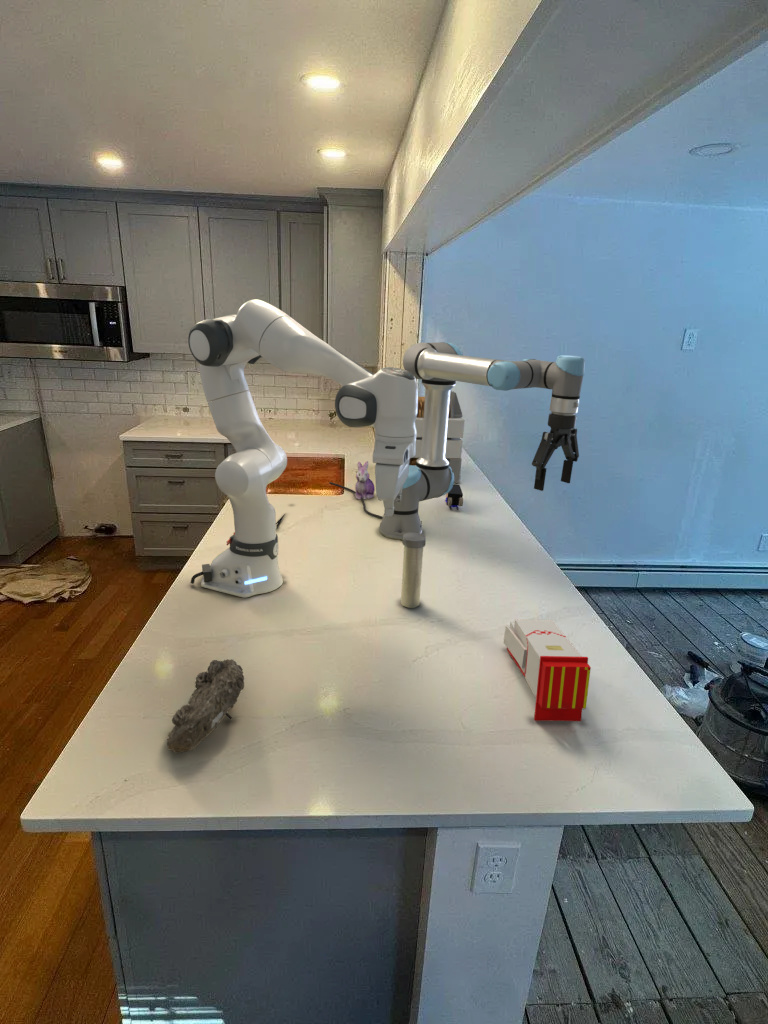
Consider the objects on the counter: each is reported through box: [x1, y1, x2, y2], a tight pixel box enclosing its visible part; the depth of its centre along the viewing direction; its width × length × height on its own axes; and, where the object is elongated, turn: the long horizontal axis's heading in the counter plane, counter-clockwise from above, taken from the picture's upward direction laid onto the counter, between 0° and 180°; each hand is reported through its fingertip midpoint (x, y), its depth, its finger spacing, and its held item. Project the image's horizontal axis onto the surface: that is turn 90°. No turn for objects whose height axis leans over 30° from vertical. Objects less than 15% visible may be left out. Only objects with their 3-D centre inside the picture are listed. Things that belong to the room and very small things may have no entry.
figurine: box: [354, 460, 376, 501], centre depth 234 cm, size 9×10×15 cm
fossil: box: [166, 658, 245, 754], centre depth 106 cm, size 22×10×15 cm
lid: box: [401, 533, 427, 549], centre depth 147 cm, size 6×6×2 cm
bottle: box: [400, 545, 424, 609], centre depth 150 cm, size 5×5×19 cm
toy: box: [503, 618, 592, 722], centre depth 122 cm, size 12×13×30 cm
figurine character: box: [444, 483, 464, 511], centre depth 230 cm, size 7×8×15 cm
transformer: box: [409, 390, 465, 484], centre depth 268 cm, size 34×33×41 cm
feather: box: [276, 513, 286, 531], centre depth 210 cm, size 2×28×2 cm
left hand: (393, 508), depth 125 cm, fingers open, 8 cm apart
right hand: (552, 485), depth 166 cm, fingers open, 13 cm apart
